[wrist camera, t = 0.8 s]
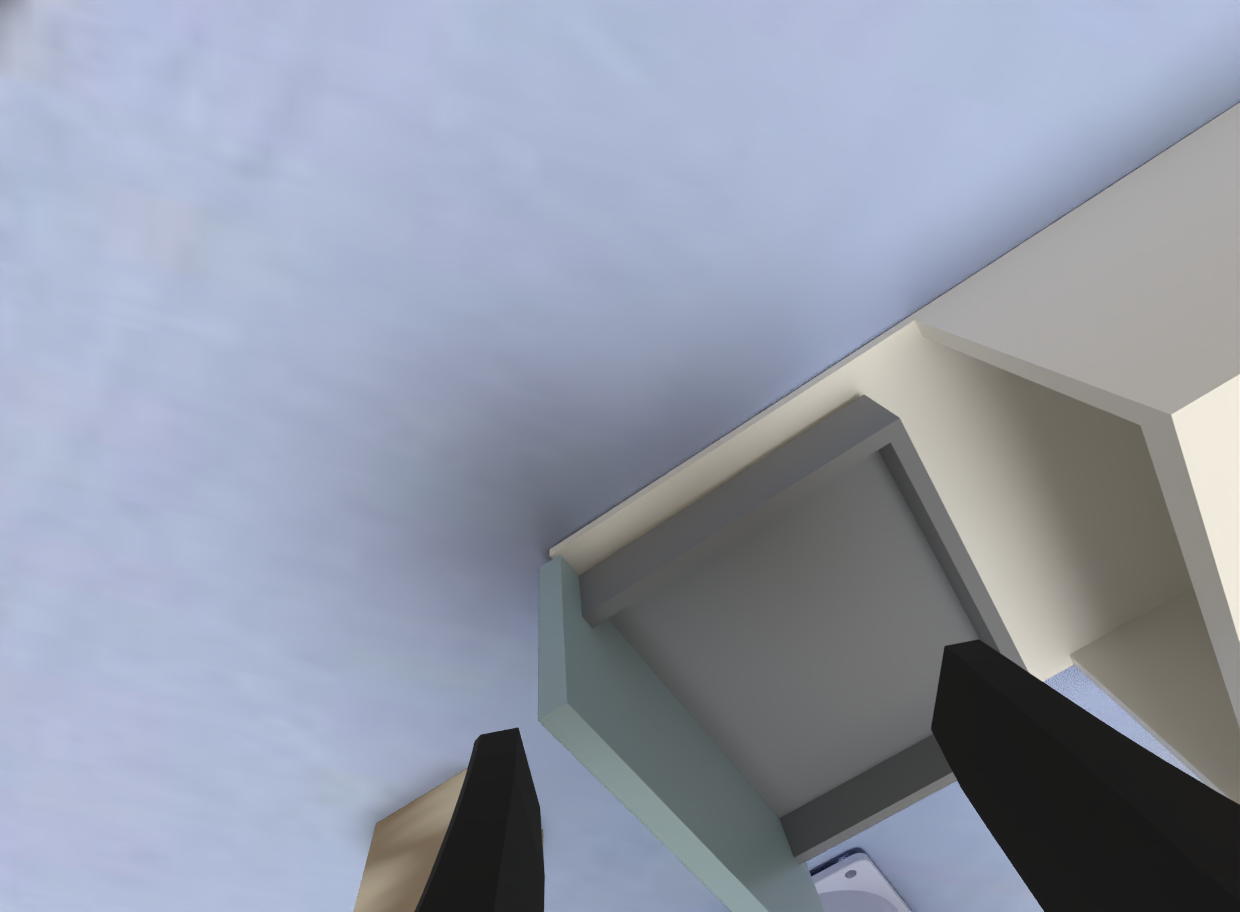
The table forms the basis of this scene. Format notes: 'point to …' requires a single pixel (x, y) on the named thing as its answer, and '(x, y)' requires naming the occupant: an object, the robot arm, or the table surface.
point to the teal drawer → (770, 658)
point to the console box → (1070, 443)
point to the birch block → (407, 850)
